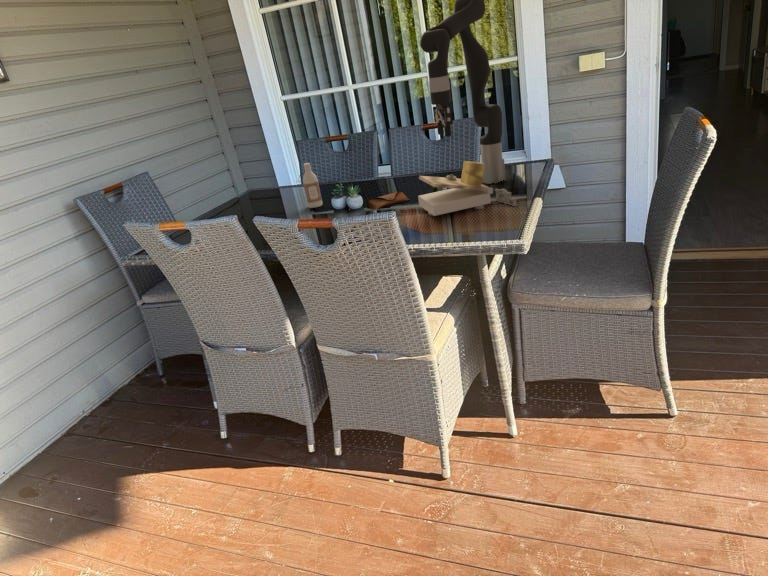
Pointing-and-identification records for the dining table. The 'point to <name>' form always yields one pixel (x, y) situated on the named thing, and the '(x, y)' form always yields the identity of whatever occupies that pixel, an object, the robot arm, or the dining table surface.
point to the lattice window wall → (505, 197)
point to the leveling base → (454, 200)
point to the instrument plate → (468, 180)
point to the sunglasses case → (386, 200)
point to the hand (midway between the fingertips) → (444, 135)
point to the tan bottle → (311, 187)
